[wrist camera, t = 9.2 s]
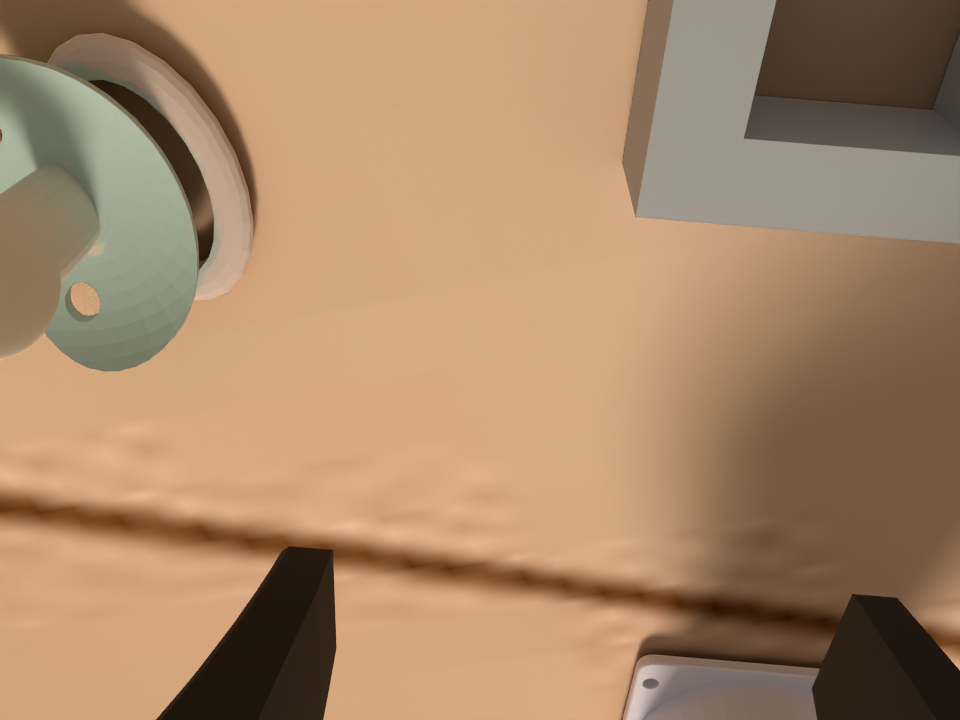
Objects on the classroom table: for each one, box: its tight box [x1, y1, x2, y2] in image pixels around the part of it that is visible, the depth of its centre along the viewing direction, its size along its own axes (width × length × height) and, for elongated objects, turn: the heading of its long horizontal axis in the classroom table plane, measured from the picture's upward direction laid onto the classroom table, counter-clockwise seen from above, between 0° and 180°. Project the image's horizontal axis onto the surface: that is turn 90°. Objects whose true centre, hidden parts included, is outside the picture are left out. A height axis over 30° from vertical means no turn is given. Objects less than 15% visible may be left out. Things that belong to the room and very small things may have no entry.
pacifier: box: [0, 33, 254, 371], centre depth 18 cm, size 7×6×6 cm
